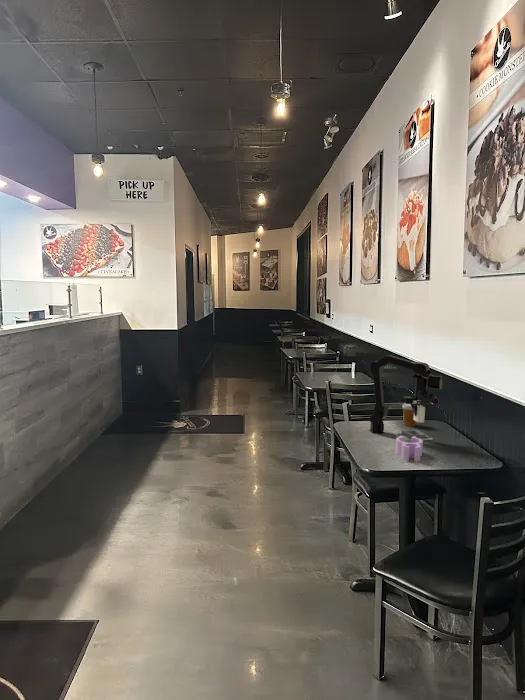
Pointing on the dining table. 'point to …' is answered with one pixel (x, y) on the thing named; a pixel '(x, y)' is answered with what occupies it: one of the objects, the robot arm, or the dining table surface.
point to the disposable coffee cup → (408, 415)
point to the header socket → (413, 434)
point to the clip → (409, 448)
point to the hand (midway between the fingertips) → (418, 415)
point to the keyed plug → (420, 414)
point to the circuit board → (410, 439)
